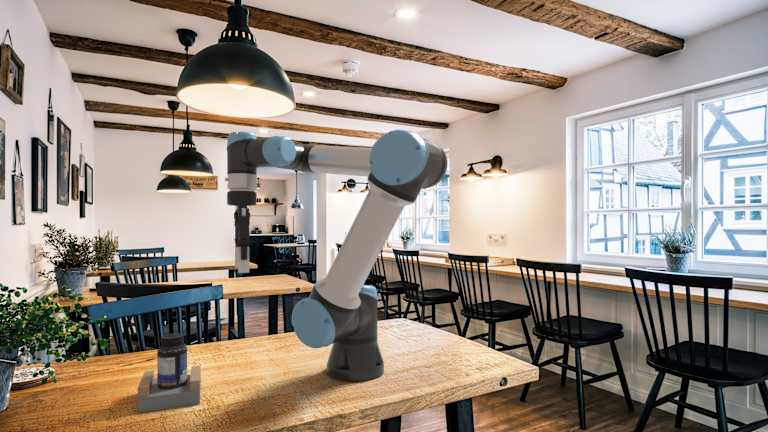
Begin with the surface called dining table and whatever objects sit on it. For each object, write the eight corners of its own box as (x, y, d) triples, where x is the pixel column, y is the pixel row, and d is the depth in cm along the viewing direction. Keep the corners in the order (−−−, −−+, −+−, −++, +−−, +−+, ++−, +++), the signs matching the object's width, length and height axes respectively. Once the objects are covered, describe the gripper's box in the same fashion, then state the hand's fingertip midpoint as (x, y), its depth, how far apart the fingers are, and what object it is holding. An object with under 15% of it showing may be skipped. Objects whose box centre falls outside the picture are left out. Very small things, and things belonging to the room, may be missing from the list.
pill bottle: (179, 378, 106) (179, 330, 106) (192, 384, 102) (192, 335, 102) (152, 385, 101) (152, 336, 101) (164, 391, 97) (165, 340, 98)
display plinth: (200, 385, 109) (200, 364, 109) (199, 404, 98) (199, 381, 98) (144, 392, 105) (145, 370, 105) (137, 412, 94) (137, 388, 94)
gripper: (225, 193, 131) (225, 266, 131) (229, 187, 108) (228, 275, 108) (252, 193, 134) (252, 265, 134) (261, 187, 111) (261, 274, 111)
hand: (241, 270), depth 121 cm, fingers open, 13 cm apart
